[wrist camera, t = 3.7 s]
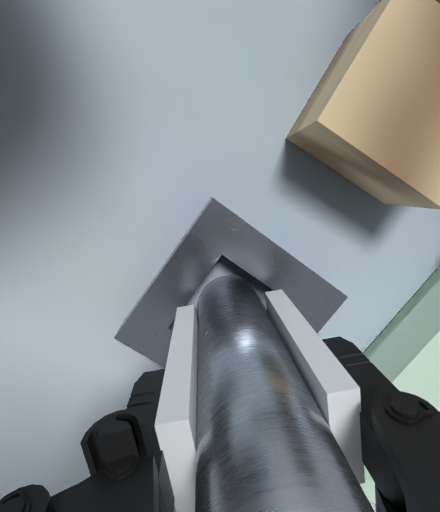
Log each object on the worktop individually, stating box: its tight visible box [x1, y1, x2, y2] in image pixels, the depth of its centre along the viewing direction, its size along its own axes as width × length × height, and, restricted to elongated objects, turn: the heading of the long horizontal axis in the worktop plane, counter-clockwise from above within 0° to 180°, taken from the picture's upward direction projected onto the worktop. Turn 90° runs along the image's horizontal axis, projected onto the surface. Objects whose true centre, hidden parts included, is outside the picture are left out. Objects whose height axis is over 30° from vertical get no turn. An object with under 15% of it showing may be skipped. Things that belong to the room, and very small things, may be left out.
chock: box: [286, 0, 440, 209], centre depth 12 cm, size 6×5×4 cm
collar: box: [114, 197, 347, 368], centre depth 15 cm, size 8×8×2 cm
